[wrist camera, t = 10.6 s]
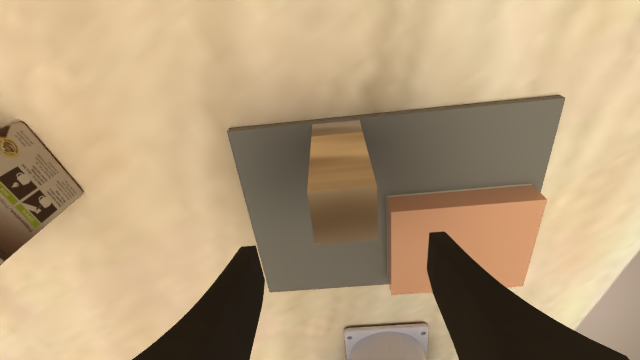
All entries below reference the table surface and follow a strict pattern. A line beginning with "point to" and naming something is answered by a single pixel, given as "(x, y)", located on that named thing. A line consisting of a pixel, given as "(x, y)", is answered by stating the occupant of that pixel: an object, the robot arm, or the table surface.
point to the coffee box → (29, 188)
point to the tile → (463, 232)
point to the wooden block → (341, 185)
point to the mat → (383, 178)
